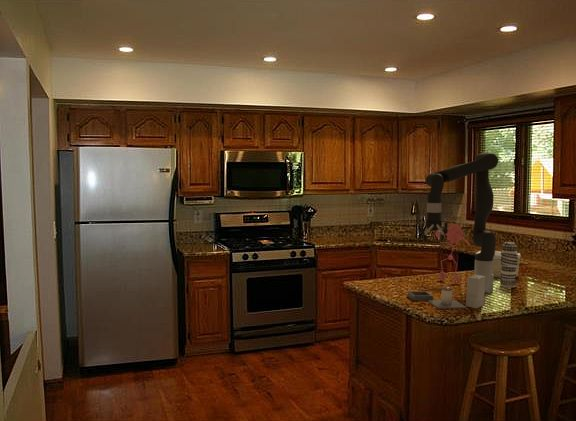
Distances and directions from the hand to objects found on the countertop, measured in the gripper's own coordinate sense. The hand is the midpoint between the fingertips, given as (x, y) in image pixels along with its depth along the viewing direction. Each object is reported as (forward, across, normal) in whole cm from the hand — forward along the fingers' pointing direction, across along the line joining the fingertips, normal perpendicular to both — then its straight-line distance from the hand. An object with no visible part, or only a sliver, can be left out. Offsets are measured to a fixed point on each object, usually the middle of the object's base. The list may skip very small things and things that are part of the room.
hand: (433, 241), depth 286 cm
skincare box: (+28, +12, -27) cm, 41 cm away
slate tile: (+28, -1, -24) cm, 37 cm away
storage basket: (+29, +58, +47) cm, 80 cm away
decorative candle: (+28, +50, +17) cm, 61 cm away
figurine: (+28, +22, +28) cm, 46 cm away
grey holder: (+28, -10, -11) cm, 31 cm away
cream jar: (+27, -1, -24) cm, 36 cm away
